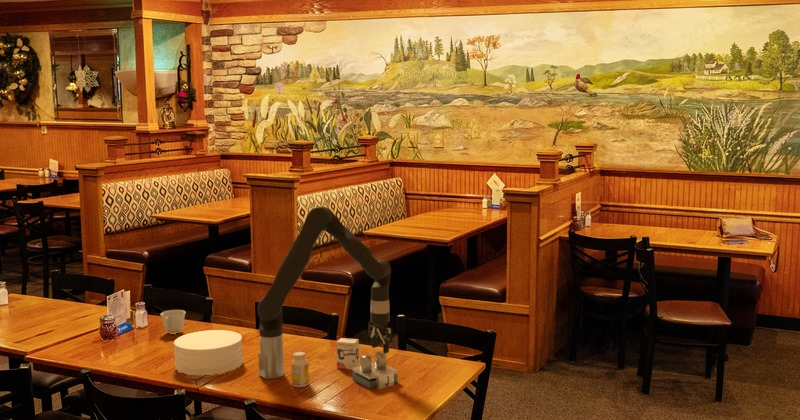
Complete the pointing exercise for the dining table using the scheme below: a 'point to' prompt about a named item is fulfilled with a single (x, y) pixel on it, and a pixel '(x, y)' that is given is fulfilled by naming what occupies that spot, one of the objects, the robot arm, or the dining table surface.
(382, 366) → the cylinder
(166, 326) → the teacup
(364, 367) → the cylinder
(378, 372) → the pan
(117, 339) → the dining table surface
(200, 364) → the plate stack
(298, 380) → the supplement bottle
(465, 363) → the dining table surface
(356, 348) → the ink box
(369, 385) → the scale base
